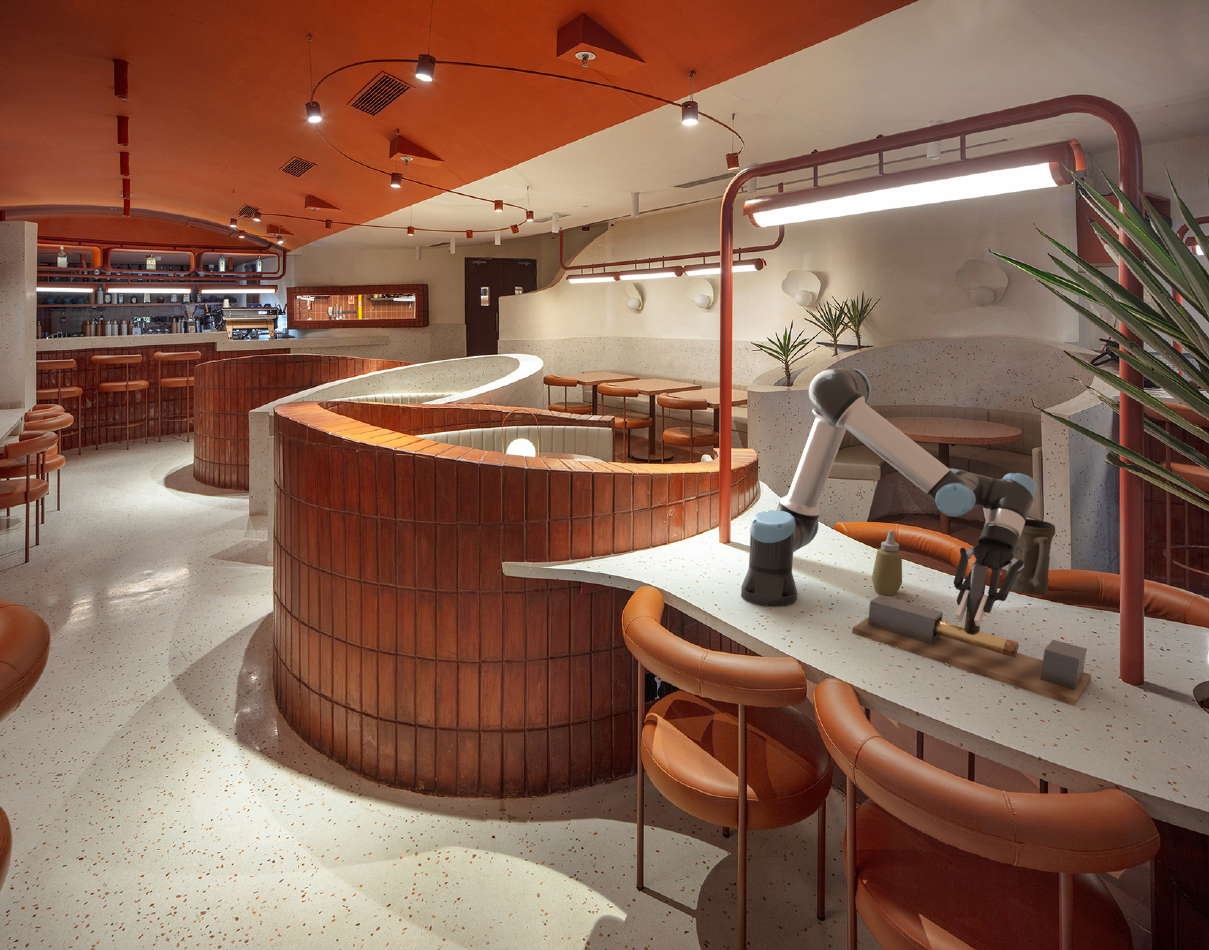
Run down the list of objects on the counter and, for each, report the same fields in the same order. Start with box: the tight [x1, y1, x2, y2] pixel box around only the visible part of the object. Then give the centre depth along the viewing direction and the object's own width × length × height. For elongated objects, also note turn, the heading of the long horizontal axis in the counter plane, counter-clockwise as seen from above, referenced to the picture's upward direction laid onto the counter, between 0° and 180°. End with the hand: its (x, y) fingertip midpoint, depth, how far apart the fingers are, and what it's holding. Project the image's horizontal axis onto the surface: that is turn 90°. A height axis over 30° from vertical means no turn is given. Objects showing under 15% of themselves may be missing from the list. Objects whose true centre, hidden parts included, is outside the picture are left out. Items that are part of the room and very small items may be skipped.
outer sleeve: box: [868, 594, 944, 644], centre depth 162 cm, size 15×6×6 cm, turn 45°
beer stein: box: [1006, 518, 1056, 596], centre depth 191 cm, size 15×11×20 cm
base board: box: [851, 616, 1092, 707], centre depth 154 cm, size 46×14×2 cm, turn 45°
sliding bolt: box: [934, 562, 1020, 658], centre depth 154 cm, size 27×3×19 cm, turn 45°
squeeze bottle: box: [871, 530, 903, 596], centre depth 190 cm, size 8×8×18 cm
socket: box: [1040, 639, 1088, 690], centre depth 140 cm, size 6×7×7 cm
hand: (967, 620), depth 148 cm, fingers closed on sliding bolt, 3 cm apart
